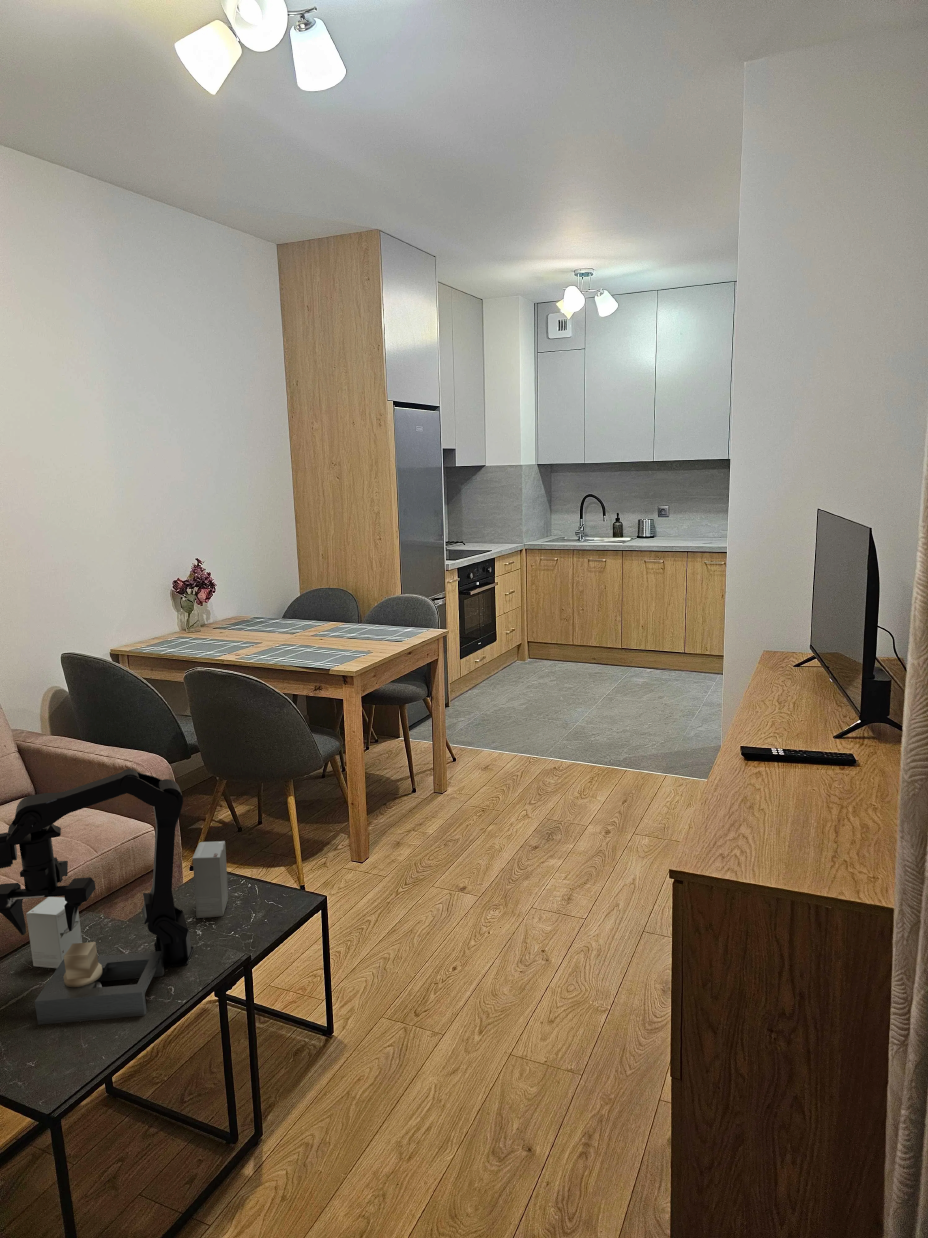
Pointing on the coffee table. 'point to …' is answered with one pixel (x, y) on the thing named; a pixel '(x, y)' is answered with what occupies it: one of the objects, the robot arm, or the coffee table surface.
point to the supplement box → (51, 932)
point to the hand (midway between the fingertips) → (47, 932)
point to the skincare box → (210, 879)
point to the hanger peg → (82, 965)
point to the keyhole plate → (100, 991)
